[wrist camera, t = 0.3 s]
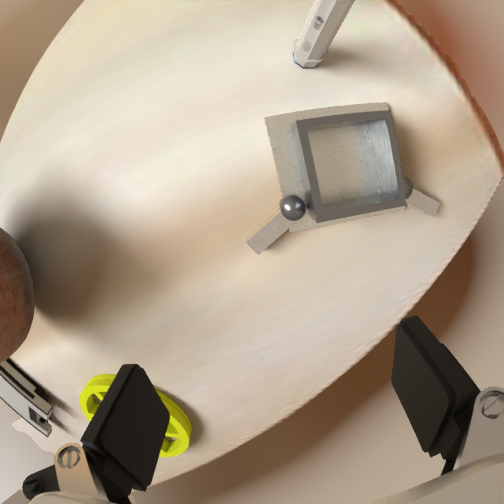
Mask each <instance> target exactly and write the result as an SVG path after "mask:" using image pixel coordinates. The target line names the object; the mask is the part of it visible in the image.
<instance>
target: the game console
mask: <svg viewBox="0 0 504 504" xmlns="http://www.w3.org/2000/svg"><path fill="white" fill-rule="evenodd" d="M0 398H1V399H2V400H3V401H4V402H5V403H6V404H7V405H8V406H10V407H11V408H12V409H13V410H14V411H15V412H16V413H17V414H19V415H20V416H21V417H22V418H23V419H25V420H26V421H27V422H28V423H29V424H31V425H32V426H33V427H35V428H36V429H37V430H38V431H40V432H41V433H42V434H44V435H45V436H47V437H48V436H49V434H50V433H51V431H52V426H51V425H50V424H49V423H48V419H49V417H50V416H51V414H52V406H51V405H50V404H49V403H48V398H47V397H46V396H45V395H44V390H43V389H42V388H41V387H40V386H38V385H37V384H36V383H35V382H33V381H32V380H31V379H30V378H29V377H28V376H26V375H25V374H24V373H23V372H22V371H21V370H20V369H19V368H17V367H16V366H15V365H14V364H13V363H12V362H11V361H10V360H9V359H7V360H5V361H3V362H1V363H0Z"/></svg>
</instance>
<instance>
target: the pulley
mask: <svg viewBox="0 0 504 504" xmlns="http://www.w3.org/2000/svg"><path fill="white" fill-rule="evenodd" d="M115 377H116V375H114V374H102V375H98V376H95V377H93V378H92V379H90V380H89V382H88V383H87V385H86V387H85V388H84V389H83V391H82V392H81V394H80V398H79V401H80V406H81V409H82V411H83V413H84V415H85V416H86V418H87V419H88V420H89V422H90V421H91V419H92V418H93V416H94V414H95V412H96V410H97V408H98V407H99V405H100V404H96V403H94V400H93V394H95V395H96V396H97V397H98V398H99V399H100V400H101V401H102V399H103V398H104V396H105V394H106V392H107V391H108V389H109V387H110V385H111V384H112V382H113V380H114V378H115ZM155 390H156V389H155ZM156 391H157V393H158V395H159V396H160V398H161V400H162V401H163V403H164V405H165V406H166V408H167V409H168V411H169V413H170V421H169V424H168V428H167V431H166V434H165V436H169V437H175V438H178V439H176V440H174V441H171V442H168V441H167V440H166V439H165V438H164V441H163V444H162V448H161V451H160V454H159V457H172V456H176V455H179V454H181V453H183V452H184V451H185V450H186V449H187V448H188V445H189V441H190V437H191V432H192V426H191V423H190V420H189V418H188V417H187V415H186V414H185V412H184V411H183V410H182V409H181V408H180V407H179V406H178V405H177V404H176V403H175V402H174V401H173V400H171V399H170V398H169V397H167V396H166V395H164V394H163V393H161V392H160V391H158V390H156Z"/></svg>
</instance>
